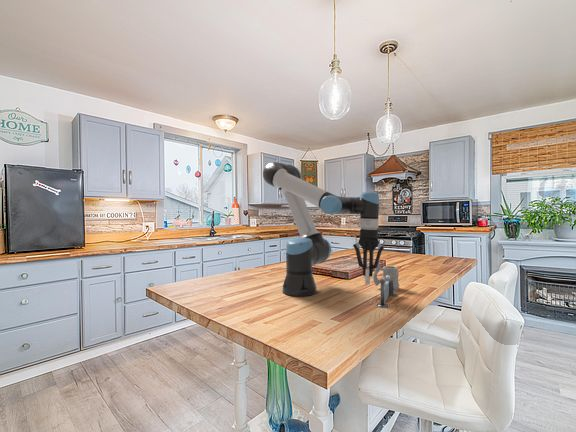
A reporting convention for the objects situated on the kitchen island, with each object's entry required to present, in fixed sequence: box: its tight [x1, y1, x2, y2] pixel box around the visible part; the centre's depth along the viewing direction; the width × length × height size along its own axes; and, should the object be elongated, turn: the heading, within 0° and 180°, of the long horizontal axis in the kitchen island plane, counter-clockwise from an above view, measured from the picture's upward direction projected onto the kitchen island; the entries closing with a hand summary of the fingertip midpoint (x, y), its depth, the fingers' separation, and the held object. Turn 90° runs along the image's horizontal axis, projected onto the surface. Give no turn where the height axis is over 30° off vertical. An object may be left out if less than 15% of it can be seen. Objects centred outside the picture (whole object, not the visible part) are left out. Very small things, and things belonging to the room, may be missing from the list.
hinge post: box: [376, 278, 389, 309], centre depth 104 cm, size 4×4×10 cm
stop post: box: [388, 280, 399, 298], centre depth 118 cm, size 3×4×6 cm
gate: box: [384, 275, 390, 304], centre depth 112 cm, size 16×2×7 cm, turn 153°
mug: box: [372, 263, 400, 291], centre depth 129 cm, size 8×12×12 cm, turn 87°
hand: (367, 283), depth 119 cm, fingers closed
